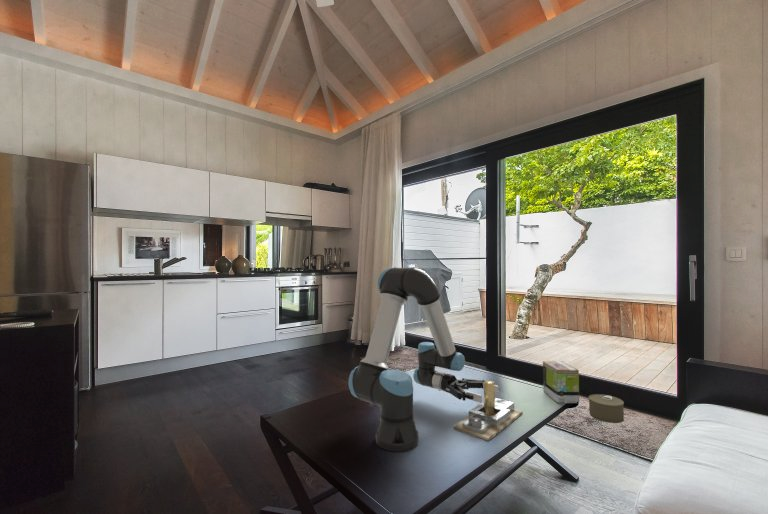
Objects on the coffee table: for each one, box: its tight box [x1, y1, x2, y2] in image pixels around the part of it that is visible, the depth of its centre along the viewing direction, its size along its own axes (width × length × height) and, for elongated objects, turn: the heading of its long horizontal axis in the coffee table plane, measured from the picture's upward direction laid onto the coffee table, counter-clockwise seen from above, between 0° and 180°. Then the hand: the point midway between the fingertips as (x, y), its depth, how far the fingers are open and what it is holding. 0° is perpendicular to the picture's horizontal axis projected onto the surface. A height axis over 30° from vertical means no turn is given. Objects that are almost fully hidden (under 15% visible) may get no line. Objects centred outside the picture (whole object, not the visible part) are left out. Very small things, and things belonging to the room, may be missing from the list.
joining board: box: [453, 408, 524, 442], centre depth 137 cm, size 30×14×1 cm, turn 137°
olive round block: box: [588, 393, 625, 424], centre depth 139 cm, size 12×12×7 cm
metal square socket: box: [462, 397, 515, 434], centre depth 137 cm, size 28×12×3 cm, turn 137°
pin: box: [483, 380, 496, 416], centre depth 137 cm, size 4×4×14 cm
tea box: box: [542, 360, 580, 404], centre depth 161 cm, size 15×10×15 cm, turn 179°
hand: (490, 394), depth 137 cm, fingers open, 13 cm apart
